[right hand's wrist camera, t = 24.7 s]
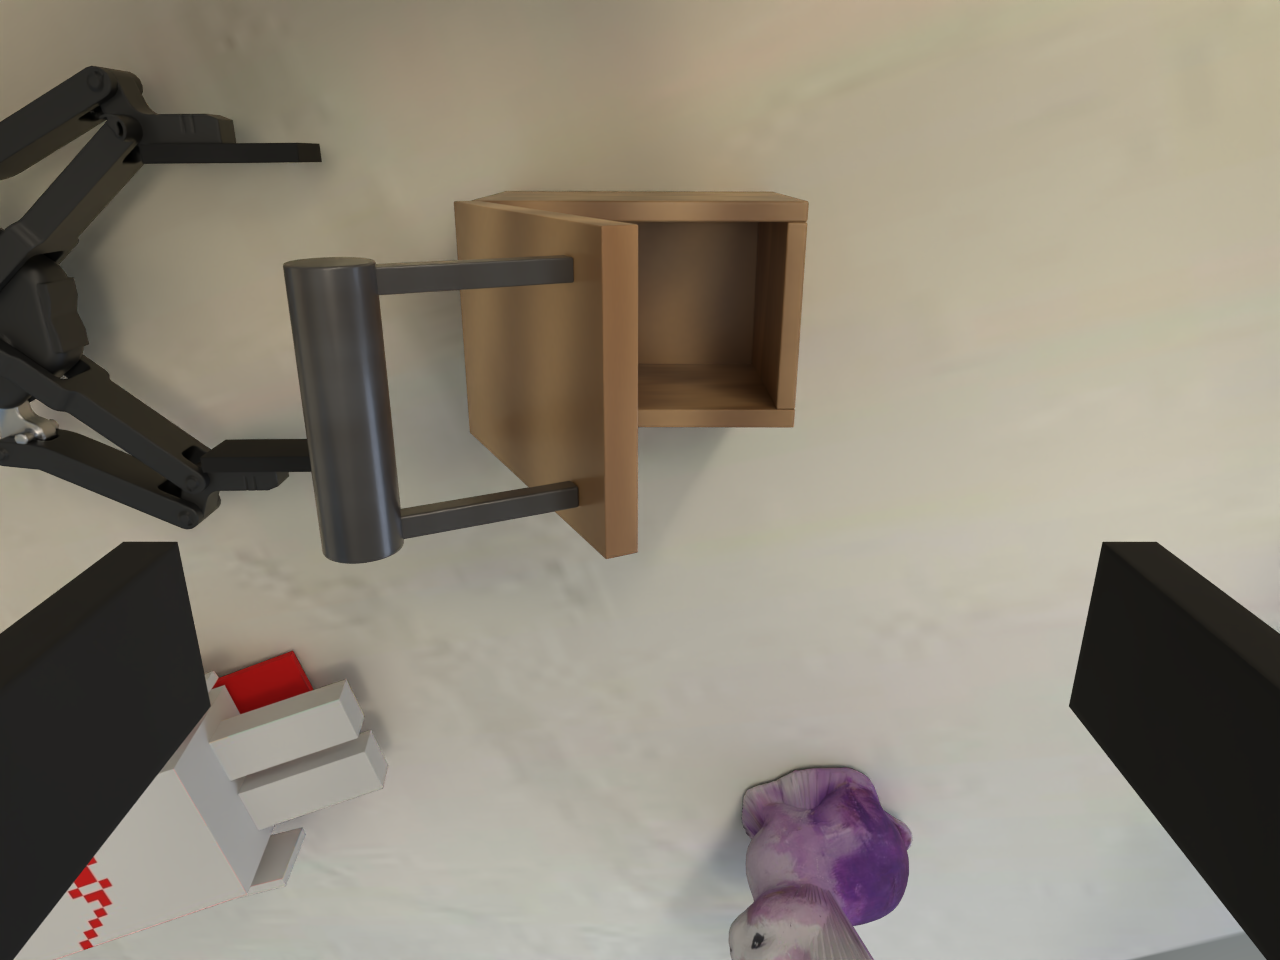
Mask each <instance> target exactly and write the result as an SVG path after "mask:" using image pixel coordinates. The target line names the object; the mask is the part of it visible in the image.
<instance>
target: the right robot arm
mask: <svg viewBox="0 0 1280 960" xmlns="http://www.w3.org/2000/svg"><path fill="white" fill-rule="evenodd" d="M210 707H211V704H210V699H209V694H208V689H207V684H206V679H205V674H204V670H203V665H202V660H201V655H200V650H199V645H198V640H197V635H196V630H195V626H194V621H193V616H192V611H191V606H190V601H189V596H188V591H187V586H186V582H185V577H184V572H183V567H182V562H181V557H180V552H179V547H178V542H123V543H121V544H120V545H119V546H117V547H116V548H115V549H113V550H112V551H111V552H109V553H108V554H107V555H105V556H104V557H102V558H101V559H100V560H98V561H97V562H96V563H94V564H93V565H92V566H90V567H89V568H88V569H86V570H85V571H84V572H82V573H81V574H80V575H78V576H77V577H76V578H74V579H73V580H72V581H70V582H69V583H68V584H66V585H65V586H64V587H62V588H61V589H60V590H58V591H57V592H56V593H54V594H53V595H52V596H50V597H49V598H48V599H46V600H45V601H44V602H42V603H41V604H40V605H38V606H37V607H36V608H34V609H33V610H32V611H30V612H29V613H27V614H26V615H25V616H23V617H22V618H21V619H19V620H18V621H17V622H15V623H14V624H13V625H11V626H10V627H9V628H7V629H6V630H5V631H3V632H2V633H1V634H0V960H13V959H14V958H15V957H16V956H17V954H18V953H19V952H20V951H21V949H22V948H23V947H24V945H25V944H26V943H27V942H28V940H29V939H30V938H31V936H32V935H33V934H34V933H35V931H36V930H37V929H38V927H39V926H40V925H41V924H42V922H43V921H44V920H45V918H46V917H47V916H48V915H49V913H50V912H51V911H52V909H53V908H54V907H55V906H56V904H57V903H58V902H59V901H60V899H61V898H62V897H63V895H64V894H65V893H66V892H67V890H68V889H69V888H70V886H71V885H72V884H73V883H74V881H75V880H76V879H77V877H78V876H79V875H80V874H81V872H82V871H83V870H84V868H85V867H86V866H87V865H88V863H89V862H90V861H91V859H92V858H93V857H94V856H95V854H96V853H97V852H98V850H99V849H100V848H101V847H102V845H103V844H104V843H105V842H106V840H107V839H108V838H109V836H110V835H111V834H112V833H113V831H114V830H115V829H116V827H117V826H118V825H119V824H120V822H121V821H122V820H123V818H124V817H125V816H126V815H127V813H128V812H129V811H130V809H131V808H132V807H133V806H134V804H135V803H136V802H137V800H138V799H139V798H140V797H141V795H142V794H143V793H144V792H145V790H146V789H147V788H148V786H149V785H150V784H151V783H152V781H153V780H154V779H155V777H156V776H157V775H158V774H159V772H160V771H161V770H162V768H163V767H164V766H165V765H166V763H167V762H168V761H169V759H170V758H171V757H172V756H173V754H174V753H175V752H176V750H177V749H178V748H179V747H180V745H181V744H182V743H183V742H184V740H185V739H186V738H187V736H188V735H189V734H190V733H191V731H192V730H193V729H194V727H195V726H196V725H197V724H198V722H199V721H200V720H201V718H202V717H203V716H204V715H205V713H206V712H207V711H208V709H209V708H210ZM1069 707H1070V708H1071V709H1072V711H1073V712H1074V713H1075V715H1076V716H1077V717H1078V718H1079V720H1080V721H1081V722H1082V724H1083V725H1084V726H1085V727H1086V729H1087V730H1088V731H1089V733H1090V734H1091V735H1092V736H1093V738H1094V739H1095V740H1096V742H1097V743H1098V744H1099V745H1100V747H1101V748H1102V749H1103V750H1104V752H1105V753H1106V754H1107V756H1108V757H1109V758H1110V759H1111V761H1112V762H1113V763H1114V765H1115V766H1116V767H1117V768H1118V770H1119V771H1120V772H1121V774H1122V775H1123V776H1124V777H1125V779H1126V780H1127V781H1128V783H1129V784H1130V785H1131V786H1132V788H1133V789H1134V790H1135V792H1136V793H1137V794H1138V795H1139V797H1140V798H1141V799H1142V800H1143V802H1144V803H1145V804H1146V806H1147V807H1148V808H1149V809H1150V811H1151V812H1152V813H1153V815H1154V816H1155V817H1156V818H1157V820H1158V821H1159V822H1160V824H1161V825H1162V826H1163V827H1164V829H1165V830H1166V831H1167V833H1168V834H1169V835H1170V836H1171V838H1172V839H1173V840H1174V842H1175V843H1176V844H1177V845H1178V847H1179V848H1180V849H1181V850H1182V852H1183V853H1184V854H1185V856H1186V857H1187V858H1188V859H1189V861H1190V862H1191V863H1192V865H1193V866H1194V867H1195V868H1196V870H1197V871H1198V872H1199V874H1200V875H1201V876H1202V877H1203V879H1204V880H1205V881H1206V883H1207V884H1208V885H1209V886H1210V888H1211V889H1212V890H1213V892H1214V893H1215V894H1216V895H1217V897H1218V898H1219V899H1220V901H1221V902H1222V903H1223V904H1224V906H1225V907H1226V908H1227V909H1228V911H1229V912H1230V913H1231V915H1232V916H1233V917H1234V918H1235V920H1236V921H1237V922H1238V924H1239V925H1240V926H1241V927H1242V929H1243V930H1244V931H1245V933H1246V934H1247V935H1248V936H1249V938H1250V939H1251V940H1252V942H1253V943H1254V944H1255V945H1256V947H1257V948H1258V949H1259V951H1260V952H1261V953H1262V954H1263V956H1264V957H1265V958H1266V959H1267V960H1280V634H1279V633H1278V632H1277V631H1275V630H1274V629H1273V628H1271V627H1270V626H1269V625H1267V624H1266V623H1265V622H1263V621H1262V620H1261V619H1259V618H1258V617H1257V616H1255V615H1254V614H1253V613H1251V612H1250V611H1248V610H1247V609H1246V608H1244V607H1243V606H1242V605H1240V604H1239V603H1238V602H1236V601H1235V600H1234V599H1232V598H1231V597H1230V596H1228V595H1227V594H1226V593H1224V592H1223V591H1222V590H1220V589H1219V588H1218V587H1216V586H1215V585H1214V584H1212V583H1211V582H1210V581H1208V580H1207V579H1206V578H1204V577H1203V576H1202V575H1200V574H1199V573H1198V572H1196V571H1195V570H1194V569H1192V568H1191V567H1190V566H1188V565H1187V564H1186V563H1184V562H1183V561H1182V560H1180V559H1179V558H1178V557H1176V556H1175V555H1173V554H1172V553H1171V552H1169V551H1168V550H1167V549H1165V548H1164V547H1163V546H1161V545H1160V544H1159V543H1157V542H1102V547H1101V552H1100V557H1099V562H1098V567H1097V572H1096V577H1095V582H1094V586H1093V591H1092V596H1091V601H1090V606H1089V611H1088V616H1087V621H1086V626H1085V630H1084V635H1083V640H1082V645H1081V650H1080V655H1079V660H1078V665H1077V670H1076V674H1075V679H1074V684H1073V689H1072V694H1071V699H1070V704H1069Z"/></svg>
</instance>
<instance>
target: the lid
mask: <svg viewBox="0 0 1280 960" xmlns="http://www.w3.org/2000/svg"><path fill="white" fill-rule="evenodd" d="M454 210H455V225H456V239H457V254H458V260H452V261H432V262H412V263H391V264H376V263H375V261H374V260H371V259H367V258H355V257H327V258H310V259H300V260H294V261H289V262H286V263H284V265H283V269H284V277H285V284H286V291H287V298H288V305H289V313H290V320H291V327H292V334H293V341H294V349H295V356H296V363H297V370H298V378H299V385H300V392H301V399H302V406H303V414H304V421H305V428H306V435H307V443H308V450H309V457H310V464H311V471H312V479H313V486H314V493H315V500H316V507H317V515H318V522H319V529H320V536H321V544H322V551H323V554H324V555H325V557H326V558H328V559H330V560H332V561H335V562H339V563H349V564H356V563H367V562H372V561H377V560H380V559H384V558H386V557H389V556H391V555H393V554H395V553H396V552H398V551H399V550H400V549H401V548H402V546H403V543H404V539H407V538H412V537H418V536H423V535H428V534H434V533H439V532H445V531H450V530H456V529H461V528H467V527H472V526H478V525H483V524H489V523H494V522H499V521H505V520H510V519H516V518H521V517H527V516H532V515H538V514H543V513H549V512H554V511H555V512H556V513H557V514H558V515H559V516H560V517H561V518H562V519H563V520H564V521H566V522H567V523H568V524H569V525H570V526H571V527H572V528H573V529H574V530H575V531H576V532H577V533H578V534H580V535H581V536H582V537H583V538H584V539H585V540H586V541H587V542H588V543H589V544H590V545H591V546H592V547H593V548H595V549H596V550H597V551H598V552H599V553H600V554H601V555H602V556H603V557H604V558H605V559H609V558H614V557H618V556H623V555H628V554H632V553H637V552H638V225H637V224H631V223H624V222H617V221H611V220H604V219H597V218H591V217H584V216H577V215H571V214H564V213H557V212H550V211H544V210H537V209H530V208H524V207H517V206H510V205H503V204H497V203H490V202H483V201H455V202H454ZM451 290H460V297H461V311H462V326H463V340H464V354H465V369H466V383H467V398H468V412H469V426H470V433H471V434H472V435H473V436H474V437H475V438H477V439H478V440H479V441H480V442H481V443H482V444H483V445H484V446H485V447H486V448H487V449H488V450H489V451H490V452H492V453H493V454H494V455H495V456H496V457H497V458H498V459H499V460H500V461H501V462H502V463H503V464H504V465H505V466H507V467H508V468H509V469H510V470H511V471H512V472H513V473H514V474H515V475H516V476H517V477H518V478H519V479H520V480H522V481H523V482H524V483H525V484H526V485H527V486H528V487H529V488H523V489H517V490H511V491H505V492H499V493H493V494H487V495H481V496H475V497H469V498H463V499H458V500H452V501H446V502H440V503H434V504H428V505H422V506H416V507H410V508H404V509H401V508H400V498H399V488H398V478H397V468H396V459H395V449H394V439H393V429H392V419H391V410H390V400H389V390H388V380H387V370H386V360H385V351H384V341H383V331H382V321H381V311H380V302H379V295H389V294H405V293H420V292H436V291H451Z"/></svg>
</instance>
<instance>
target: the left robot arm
mask: <svg viewBox="0 0 1280 960" xmlns="http://www.w3.org/2000/svg"><path fill="white" fill-rule="evenodd" d="M142 92H143V87H142V84H141V81H140V79H139V78H138V77H137V76H136V75H134V74H133V73H131V72H126V71H121V70H115V69H109V68H103V67H96V66H90V67H87V68H85V69H83V70H82V71H80V72H79V73H77V74H75V75H74V76H72V77H71V78H69V79H67V80H66V81H64V82H63V83H61V84H60V85H58V86H56V87H55V88H53V89H52V90H50V91H49V92H47V93H45V94H44V95H42V96H41V97H39V98H37V99H36V100H34V101H33V102H31V103H30V104H28V105H26V106H25V107H23V108H22V109H20V110H19V111H17V112H15V113H14V114H12V115H11V116H9V117H7V118H6V119H4V120H3V121H1V122H0V180H3V179H7V178H9V177H12V176H15V175H17V174H19V173H21V172H22V171H24V170H26V169H27V168H29V167H31V166H32V165H34V164H35V163H37V162H39V161H40V160H42V159H43V158H45V157H47V156H48V155H50V154H52V153H53V152H55V151H56V150H58V149H60V148H61V147H63V146H65V145H66V144H68V143H69V142H71V141H73V140H74V139H76V138H77V137H79V136H81V135H82V134H84V133H86V132H87V131H89V130H90V129H92V128H94V127H95V126H97V125H98V124H100V123H102V122H103V121H105V120H107V121H106V123H105V124H104V125H103V126H102V127H101V128H100V129H99V131H98V132H97V133H96V134H95V135H94V136H93V137H92V139H91V140H90V141H89V142H88V143H87V144H86V145H85V147H84V148H83V149H82V150H81V151H80V152H79V153H78V155H77V156H76V157H75V158H74V159H73V160H72V161H71V163H70V164H69V165H68V166H67V167H66V168H65V169H64V171H63V172H62V173H61V174H60V175H59V176H58V177H57V178H56V180H55V181H54V182H53V183H52V184H51V185H50V186H49V188H48V189H47V190H46V191H45V192H44V193H43V194H42V196H41V197H40V198H39V199H38V200H37V201H36V202H35V204H34V205H33V206H32V207H31V208H30V209H29V210H28V212H27V213H26V214H25V215H24V216H23V217H22V218H21V219H20V220H19V221H17V222H15V223H13V224H11V225H10V226H8V227H7V228H6V229H5V230H3V229H2V228H0V438H1V439H0V465H1V466H9V467H19V468H29V469H39V470H42V471H44V472H47V473H49V474H51V475H54V476H56V477H59V478H61V479H64V480H66V481H69V482H71V483H73V484H76V485H78V486H81V487H83V488H86V489H88V490H90V491H93V492H95V493H98V494H100V495H103V496H105V497H108V498H110V499H112V500H115V501H117V502H120V503H122V504H125V505H127V506H129V507H132V508H134V509H137V510H139V511H142V512H144V513H146V514H149V515H151V516H154V517H156V518H159V519H161V520H164V521H166V522H168V523H171V524H173V525H176V526H178V527H181V528H184V529H192V528H194V527H196V526H197V525H198V524H199V523H200V522H202V521H203V520H204V519H205V518H206V517H208V516H209V515H210V514H211V513H212V512H214V511H215V510H216V509H217V508H218V507H219V506H220V504H221V499H220V496H219V491H241V490H270V489H273V488H275V487H277V486H279V485H280V484H281V483H282V482H283V481H284V480H285V479H287V478H288V477H289V473H288V472H312V471H311V464H310V457H309V450H308V443H307V439H251V440H225V441H223V442H222V443H220V444H219V445H217V446H216V447H214V448H213V449H212V450H211V449H209V448H208V447H206V446H205V445H204V444H202V443H201V442H199V441H198V440H196V439H195V438H193V437H192V436H191V435H189V434H188V433H186V432H185V431H183V430H182V429H180V428H179V427H178V426H176V425H175V424H173V423H172V422H170V421H169V420H167V419H166V418H164V417H163V416H162V415H160V414H159V413H157V412H156V411H154V410H153V409H151V408H150V407H149V406H147V405H146V404H144V403H143V402H141V401H140V400H138V399H137V398H136V397H134V396H133V395H131V394H130V393H128V392H127V391H125V390H124V389H122V388H121V387H120V386H118V385H117V384H115V383H114V382H112V381H111V380H110V376H109V373H108V372H107V371H106V370H104V369H103V368H102V367H100V366H99V365H97V364H96V363H94V362H93V361H91V360H90V359H89V358H87V357H86V356H84V355H83V354H82V353H83V349H84V346H85V345H88V344H89V342H88V338H87V333H86V329H85V327H84V325H83V323H82V321H81V319H80V317H79V315H78V313H77V290H76V286H75V282H74V278H68V277H67V275H66V274H65V272H64V271H63V269H62V268H61V267H60V266H59V264H60V263H61V261H62V260H63V259H64V258H65V257H66V256H67V255H68V254H69V253H70V252H71V250H72V249H73V248H74V247H75V246H76V245H77V244H78V242H79V239H78V237H79V235H80V234H81V233H82V232H83V231H84V230H85V229H86V228H87V226H88V225H89V224H90V223H91V222H92V221H93V220H94V219H95V218H96V216H97V215H98V214H99V213H100V212H101V211H102V210H103V209H104V208H105V206H106V205H107V204H108V203H109V202H110V201H111V200H112V199H113V198H114V197H115V195H116V194H117V193H118V192H119V191H120V190H121V189H122V188H123V187H124V185H125V184H126V183H127V182H128V181H129V180H130V179H131V178H132V177H133V176H134V174H135V173H136V172H137V171H138V170H139V169H140V168H141V167H142V166H143V164H167V163H279V162H322V161H321V153H320V145H319V144H312V143H236V138H235V132H234V125H233V120H230V119H228V118H225V117H223V116H220V115H210V114H157V113H155V112H154V111H152V110H151V109H150V108H149V106H148V105H147V103H146V102H145V100H144V98H143V96H142ZM63 375H65V376H66V377H68V379H61V377H62V376H63ZM35 399H37V400H39V401H40V402H42V403H43V404H45V405H46V406H48V407H50V408H51V409H54V410H57V411H63V412H67V413H69V414H71V415H73V416H74V417H76V418H77V419H79V420H80V421H82V422H83V423H84V424H86V425H87V426H89V427H90V428H92V429H93V430H95V431H96V432H98V433H99V434H101V435H102V436H104V437H105V438H107V439H108V440H110V441H111V442H113V443H114V444H116V445H117V446H119V447H120V448H122V449H123V450H125V451H126V452H128V453H129V454H131V455H129V454H127V453H124V452H122V451H120V450H117V449H115V448H112V447H110V446H108V445H105V444H103V443H101V442H98V441H96V440H93V439H91V438H89V437H86V436H84V435H81V434H78V433H75V432H71V431H67V430H60V429H58V428H59V425H58V423H57V422H56V421H55V420H53V419H50V420H48V419H46V418H43V417H40V416H38V415H37V414H35V413H34V412H33V410H32V409H31V407H30V403H29V402H31V401H33V400H35Z"/></svg>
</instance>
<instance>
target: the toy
mask: <svg viewBox="0 0 1280 960" xmlns="http://www.w3.org/2000/svg"><path fill="white" fill-rule="evenodd" d="M205 679H206V684H207V689H208V694H209V699H210V704H211V707H210V708H209V709H208V711H207V712H206V713H205V715H204V716H203V717H202V718H201V720H200V721H199V722H198V724H197V725H196V726H195V727H194V729H193V730H192V731H191V733H190V734H189V735H188V736H187V738H186V739H185V740H184V742H183V743H182V744H181V745H180V747H179V748H178V749H177V750H176V752H175V753H174V754H173V756H172V757H171V758H170V759H169V761H168V762H167V763H166V765H165V766H164V767H163V768H162V770H161V771H160V772H159V774H158V775H157V776H156V777H155V779H154V780H153V781H152V783H151V784H150V785H149V786H148V788H147V789H146V790H145V792H144V793H143V794H142V795H141V797H140V798H139V799H138V800H137V802H136V803H135V804H134V806H133V807H132V808H131V809H130V811H129V812H128V813H127V815H126V816H125V817H124V818H123V820H122V821H121V822H120V824H119V825H118V826H117V827H116V829H115V830H114V831H113V833H112V834H111V835H110V836H109V838H108V839H107V840H106V842H105V843H104V844H103V845H102V847H101V848H100V849H99V850H98V852H97V853H96V854H95V856H94V857H93V858H92V859H91V861H90V862H89V863H88V865H87V866H86V867H85V868H84V870H83V871H82V872H81V874H80V875H79V876H78V877H77V879H76V880H75V881H74V883H73V884H72V885H71V886H70V888H69V889H68V890H67V892H66V893H65V894H64V895H63V897H62V898H61V899H60V901H59V902H58V903H57V904H56V906H55V907H54V908H53V909H52V911H51V912H50V913H49V915H48V916H47V917H46V918H45V920H44V921H43V922H42V924H41V925H40V926H39V927H38V929H37V930H36V931H35V933H34V934H33V935H32V936H31V938H30V939H29V940H28V942H27V943H26V944H25V945H24V947H23V948H22V949H21V951H20V952H19V953H18V954H17V956H16V957H15V958H14V959H13V960H56V959H59V958H62V957H65V956H68V955H71V954H74V953H76V952H79V951H82V950H85V949H88V948H91V947H94V946H97V945H100V944H103V943H106V942H109V941H112V940H115V939H118V938H120V937H123V936H126V935H129V934H132V933H135V932H138V931H141V930H144V929H147V928H150V927H153V926H156V925H159V924H162V923H164V922H167V921H170V920H173V919H176V918H179V917H182V916H185V915H188V914H191V913H194V912H197V911H200V910H203V909H206V908H208V907H211V906H214V905H217V904H220V903H223V902H226V901H229V900H233V899H237V898H241V897H245V896H249V895H253V894H257V893H261V892H265V891H269V890H273V889H277V888H281V887H285V886H286V884H287V881H288V879H289V876H290V873H291V871H292V868H293V866H294V863H295V861H296V858H297V855H298V853H299V850H300V848H301V845H302V843H303V840H304V837H305V835H306V834H305V832H304V829H303V827H302V828H298V829H294V830H290V831H286V832H282V833H278V834H274V835H271V833H272V830H273V828H274V825H276V824H279V823H282V822H285V821H288V820H291V819H294V818H297V817H300V816H303V815H306V814H309V813H312V812H314V811H317V810H320V809H323V808H326V807H329V806H332V805H335V804H338V803H341V802H344V801H347V800H350V799H353V798H356V797H359V796H362V795H365V794H368V793H371V792H374V791H376V790H379V789H382V788H383V786H384V782H385V777H386V773H387V769H388V764H387V762H386V760H385V758H384V756H383V754H382V752H381V750H380V747H379V745H378V743H377V741H376V739H375V737H374V735H373V733H372V731H371V730H369V731H366V732H363V733H360V730H361V727H362V723H363V720H364V717H365V716H364V714H363V712H362V710H361V708H360V706H359V704H358V702H357V700H356V698H355V696H354V694H353V692H352V689H351V687H350V685H349V683H348V681H347V679H345V680H342V681H339V682H336V683H333V684H330V685H327V686H324V687H321V688H318V689H315V690H314V689H313V688H312V686H311V684H310V682H309V680H308V678H307V676H306V674H305V673H304V671H303V669H302V667H301V665H300V663H299V661H298V659H297V657H296V656H295V654H294V652H293V651H291V652H288V653H285V654H283V655H280V656H277V657H274V658H272V659H269V660H266V661H264V662H261V663H258V664H255V665H253V666H250V667H247V668H245V669H242V670H239V671H236V672H234V673H231V674H228V675H226V676H223V677H220V678H219V677H218V676H217V675H216V673H215V672H214V670H213V671H211V672H209V673H207V674H205ZM359 733H360V734H359Z"/></svg>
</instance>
